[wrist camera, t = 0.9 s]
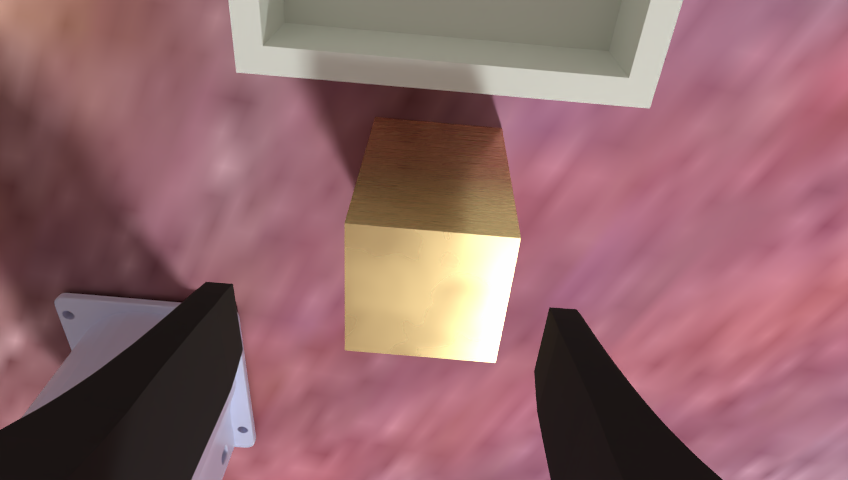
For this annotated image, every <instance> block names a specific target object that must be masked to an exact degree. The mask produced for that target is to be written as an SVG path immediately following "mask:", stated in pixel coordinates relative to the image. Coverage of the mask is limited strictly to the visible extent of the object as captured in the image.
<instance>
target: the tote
mask: <svg viewBox="0 0 848 480" xmlns="http://www.w3.org/2000/svg"><path fill="white" fill-rule="evenodd" d="M228 1H229V10H230V19H231V28H232V37H233V46H234V56H235V65H236V72H238V73H249V74H261V75H272V76H284V77H295V78H307V79H318V80H329V81H341V82H352V83H364V84H375V85H387V86H398V87H410V88H421V89H433V90H444V91H456V92H467V93H479V94H490V95H501V96H513V97H524V98H536V99H547V100H559V101H570V102H582V103H593V104H605V105H616V106H628V107H639V108H650V106H651V103H652V99H653V96H654V93H655V90H656V86H657V83H658V80H659V77H660V73H661V70H662V67H663V64H664V60H665V57H666V54H667V51H668V47H669V44H670V41H671V38H672V34H673V31H674V28H675V25H676V21H677V18H678V15H679V12H680V8H681V5H682V2H683V0H228Z"/></svg>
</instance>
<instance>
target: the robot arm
mask: <svg viewBox="0 0 848 480" xmlns="http://www.w3.org/2000/svg"><path fill="white" fill-rule="evenodd" d="M54 305H55V308H56V310H57V313H58V316H59V318H60V321H61V324H62V326H63V329H64V332H65V334H66V337H67V340H68V342H69V345H70V348H71V353H70V354H69V355H68V357H67V358H66V359H65V361H64V362H63V363H62V365H61V366H60V367H59V369H58V370H57V371H56V373H55V374H54V375H53V377H52V378H51V379H50V381H49V382H48V383H47V385H46V386H45V387H44V389H43V390H42V391H41V392H40V394H39V395H38V396H37V398H36V399H35V400H34V402H33V403H32V404H31V406H30V407H29V408H28V410H27V411H26V412H25V414H24V415H23V416H22V418H21V419H19V420H17V421H15V422H14V423H12V424H10V425H8V426H7V427H5V428H3V429H1V430H0V480H222V479H223V476H224V473H225V471H226V468H227V465H228V462H229V460H230V457H231V454H232V452H233V449H234V447H245V448H246V447H251V446H253V445H254V443H255V440H256V433H255V426H254V419H253V412H252V405H251V398H250V390H249V383H248V376H247V369H246V362H245V355H244V347H243V340H242V333H241V326H240V319H239V314H238V312H237V308H236V301H235V295H234V289H233V284H226V283H213V282H206V283H204V284H203V285H202V286H201V287H200V288H198V289H197V290H196V291H195V292H194V293H192V294H191V295H190V296H189V297H188V298H187V299H185V300H184V301H183V302H182V303H181V302H169V301H157V300H146V299H134V298H122V297H110V296H98V295H86V294H75V293H62V294H60V295H59V296H58V297H57V298H56V299H55V301H54ZM69 311H70V312H69ZM534 373H535V388H536V401H537V412H538V418H539V423H540V428H541V433H542V438H543V443H544V448H545V453H546V458H547V463H548V468H549V473H550V478H551V480H722V479H721V478H720V477H719V476H718V475H717V474H716V473H714V472H713V471H712V470H711V469H710V468H709V467H708V466H707V465H705V464H704V463H703V462H702V461H701V460H700V459H699V458H698V457H697V456H696V455H695V454H694V453H693V452H692V451H690V450H689V449H688V448H687V447H686V446H685V444H684V443H683V442H682V441H681V440H680V439H679V438H678V437H677V436H676V435H675V434H674V433H673V432H672V431H671V430H670V429H669V428H668V427H667V426H666V425H665V424H664V423H663V422H662V421H661V420H660V419H659V417H658V416H657V415H656V414H655V413H654V412H653V411H652V409H651V408H650V407H649V406H648V405H647V404H646V402H645V401H644V400H643V399H642V398H641V396H640V395H639V394H638V393H637V392H636V390H635V389H634V388H633V387H632V385H631V384H630V383H629V381H628V380H627V379H626V378H625V376H624V375H623V374H622V372H621V371H620V370H619V368H618V367H617V366H616V365H615V363H614V362H613V360H612V359H611V358H610V356H609V355H608V354H607V352H606V351H605V349H604V348H603V347H602V345H601V344H600V342H599V341H598V339H597V338H596V337H595V335H594V334H593V332H592V331H591V329H590V328H589V326H588V325H587V323H586V322H585V320H584V319H583V317H582V316H581V314H580V313H579V312H578V311H577V310H576V309H563V308H549V312H548V316H547V320H546V325H545V329H544V333H543V337H542V341H541V345H540V350H539V354H538V358H537V362H536V366H535V370H534Z"/></svg>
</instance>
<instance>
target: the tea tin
mask: <svg viewBox="0 0 848 480" xmlns="http://www.w3.org/2000/svg"><path fill="white" fill-rule="evenodd" d="M520 240H521V236H520V230H519V225H518V219H517V213H516V207H515V201H514V196H513V190H512V184H511V178H510V172H509V167H508V161H507V155H506V149H505V143H504V137H503V132H502V128H495V127H484V126H472V125H461V124H449V123H438V122H426V121H415V120H403V119H392V118H380V117H375V119H374V123H373V126H372V130H371V133H370V137H369V140H368V144H367V147H366V151H365V154H364V158H363V161H362V165H361V168H360V172H359V175H358V179H357V182H356V185H355V189H354V192H353V196H352V199H351V203H350V206H349V210H348V213H347V217H346V220H345V350H348V351H360V352H372V353H384V354H396V355H408V356H420V357H432V358H444V359H456V360H468V361H480V362H492V363H496V358H497V353H498V348H499V343H500V338H501V333H502V329H503V324H504V319H505V314H506V309H507V304H508V299H509V294H510V289H511V284H512V279H513V274H514V270H515V265H516V260H517V255H518V250H519V245H520Z"/></svg>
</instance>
